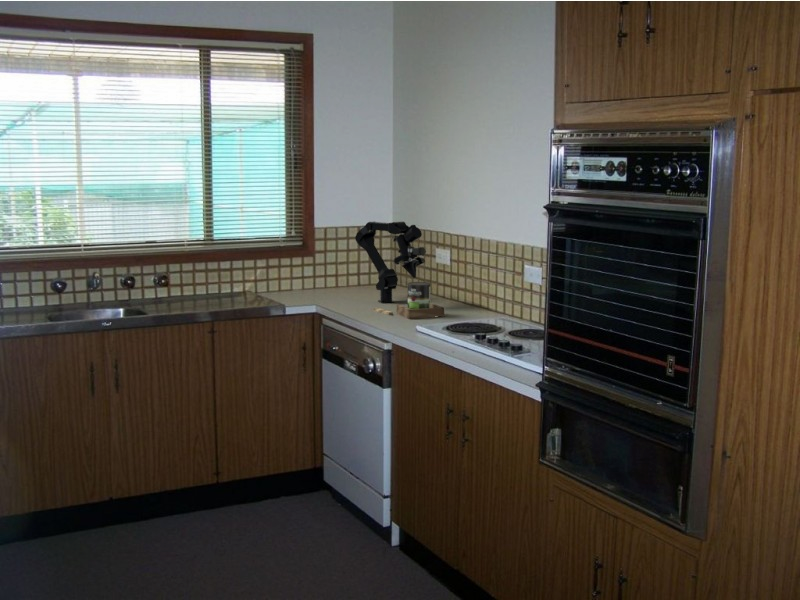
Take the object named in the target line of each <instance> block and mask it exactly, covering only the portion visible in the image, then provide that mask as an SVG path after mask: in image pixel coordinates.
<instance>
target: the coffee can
mask: <svg viewBox="0 0 800 600" xmlns="http://www.w3.org/2000/svg"><path fill="white" fill-rule="evenodd" d="M431 285H432V284H431V282H427V281H410V282H407V285H406V286H407V308H409V309H424V308H430V302H431Z"/></svg>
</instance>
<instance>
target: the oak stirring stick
mask: <svg viewBox="0 0 800 600" xmlns="http://www.w3.org/2000/svg"><path fill="white" fill-rule="evenodd" d="M372 309H373V310H374V311H373V310H372V311H373V312H376V311H377V313H379V312H380V313H381V314H383V313H384V314H383V315H386V314H387V316H393V315H394V312H393V311H390V310H387V309H383V308H379V307H372Z"/></svg>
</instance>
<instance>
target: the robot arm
mask: <svg viewBox="0 0 800 600" xmlns="http://www.w3.org/2000/svg"><path fill="white" fill-rule="evenodd" d="M377 231H382V232H388V233H389V234H391V235H395V236H394V238H393V240H392V241H393V243H395V242H396V243H397V246H398V249H399V250H397V252H398V253H399V254H400V255H398V256H396V257H394V258H393V263H394V265H397V266H398V265H400V262H402V263H403V264H401V267H402V268H404V269H405V271H406V272H407V273H409V275H410V276H411V277H412V279H416V278H417V267H419V266H420V265H422V264H425V263H426V261H425V258H424V257H421V256H425V254H426V253H427V250H426V248H425V247H424V246H422V247H421V246H420V247H414V246H412V244H411V243H414V242H416V240H419V239H420V238H421V237H422V231H421V230H420V228H419V227H418V226H416V224H411V225H410V226H409V225H408V224H407V223H406V222H405V221H392V222H380V221H368V222H367V223H366V224H365V225H364V226H363V227H362V228H360V229H359V230H358V231H357V232H356V234H355V239H354V240H355V241H356V243H357V244H358V246H359V247H361V248H362V249H364V251H366V254H367V255H368V256H369V257H368V258H369V259H370V261H371V262H372V264H373V266H374V267H375V269H376V271H377V273H378V281H377V283H376V284H375V289H376V290H378V291H379V294H380V295H379V297H380V299H379V300H378V299H377V302H379V303H382V304H389V303H390V304H391V303H396V302H395V300H393V290H396V289H397V286H398V283H399V282H398V280H399V278H398V274H397V273H396V271H395V269H394V268H388V266H387V264H386V263H385V261H384V259H383V257H382V256H381V254H380V252H379V251H378V249H377V247H376V245H375V236H376V234H377Z"/></svg>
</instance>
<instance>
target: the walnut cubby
mask: <svg viewBox="0 0 800 600" xmlns="http://www.w3.org/2000/svg"><path fill="white" fill-rule="evenodd" d="M396 314H397V315H399V316H402V317H403V316H404V317H403V318H405V319H408V320H415V319H417V320H419V319H429V318H428V317H432V318H436V317H435V316H444V317H445V307H443V306H442V305H438V304H437V303H433V302H431V301H430V308H424V309H409V308H408V307H406V306H403V305H401V304H396Z"/></svg>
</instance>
